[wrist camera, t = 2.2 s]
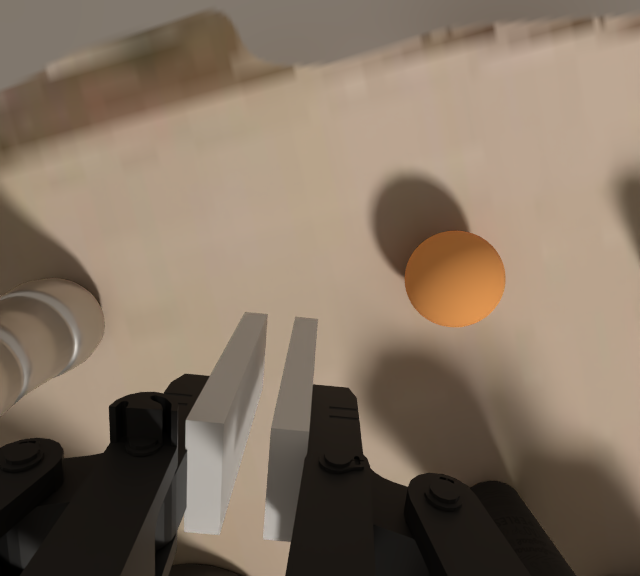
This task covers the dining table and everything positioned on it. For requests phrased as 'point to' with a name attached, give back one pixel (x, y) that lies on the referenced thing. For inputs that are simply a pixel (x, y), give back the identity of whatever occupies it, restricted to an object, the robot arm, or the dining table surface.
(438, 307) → the ball
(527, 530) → the drinking cup
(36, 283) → the plastic bottle
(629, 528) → the dining table surface
